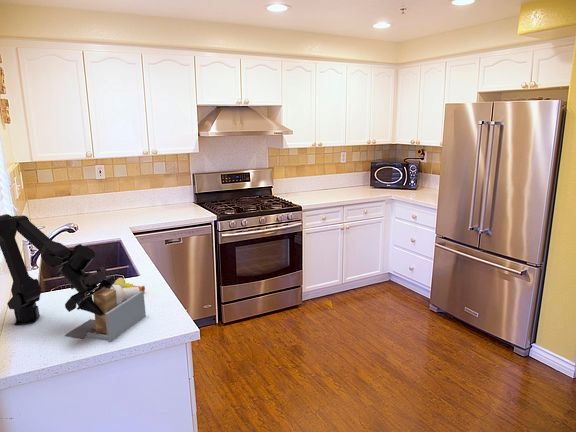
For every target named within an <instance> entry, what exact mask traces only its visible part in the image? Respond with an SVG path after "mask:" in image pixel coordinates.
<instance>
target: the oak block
mask: <svg viewBox="0 0 576 432" xmlns="http://www.w3.org/2000/svg"><path fill="white" fill-rule="evenodd" d="M92 299H93V302H94V303H95V304H96V305H97V306H98V307H99V309H100V310H101V311H102V312H103V315H102V316H99V315H97V314H94V320H95V325H96V327H91V329H94V330H95V333H97V334H104V335H107V327H106V319H105V313H107V312H109V311H110V310H112V309H113V308H115V307H116V306H118V305H117V298H116V290H114V289H109V288H102V289H100V290H98V291H96V292H95V293H93V295H92Z"/></svg>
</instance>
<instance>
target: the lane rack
mask: <svg viewBox="0 0 576 432" xmlns="http://www.w3.org/2000/svg"><path fill="white" fill-rule="evenodd" d="M144 293H145V292H144ZM144 293H143V291H140V292H138V293H137V294H135V295H134V296H132V297H130V298H129V299H127V300H123V301H122V302H121V304H120V305H117V306H116V307H115V308H113V309H112V310H110V311H109V312H107V313H105V319H106V327H107V335H104V334H97V333H96V332H92V333H91V332H88V333H86V335H87V337H86V338H88V339H94V340H99V341H100V340H101V341H102V340H103V341H108V343H112V342H113V341H115V340H117V338H118V337H119V336H121V335H123V334H124V333H126V331H127V330H129V329H130V328H132V327H133V326H135V325H136V324H137V323H138V322H140V321H141V320H143V319H144V318H145V317H146V316H147V315H146V314H147V313H146V305H145V304H146V303H145V294H144Z"/></svg>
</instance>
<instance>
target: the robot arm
mask: <svg viewBox="0 0 576 432" xmlns="http://www.w3.org/2000/svg"><path fill="white" fill-rule="evenodd" d="M17 232H18V233H19V234H20V235H21V236H22V237H23V238H24V239H25V240H27V241H28V242H29V243H30V244H31V245H32V246H34V248H36V249H37V250H38V251H39V253H40V257H41V259H42V261H44V263H45V264H46V265H47V266H49V268H56V267H58V266H61V265H62V266H61V267H58V268H57V269H56V270H57V271H56V277H57V278H59V277H61V276H62V277H64V278H65V280H66V281H67V282H68V283H69V284H70V286H69V288H70V290H75V291H76V292H77V293H74V294H73V295H71V296H70V298H68V300H67V301H66V302H65V303H64V306H65V307H64V308H65V309H66V310H67V311H68V313H69V312H72V311H74V310H75V309H76V310H77V311H79V310H81V311H86V312H89V313H92V314H94V315H95V314H97V315H99V316H102V315H103V312H102V311H101V310H100V309H99V307H98V306H97V305H96V304H95V303H94V301H93V293H95V292H96V291H98V290H100V289H102V288H109V289H110V288H111V286H112V285H113V284H114V283H115V281H116V280H117V279H116V278H115V277H113V276H112V275H110V276H107V275H109V272H108V271H107V269H106V268H105V267H104V266H101V267H99V268H97V269H96V272H95V273H93V274H92V272H89V271H88V272H86V271H85V269H86V268H88V266H89V265H90V263H92V261H93V260H94V258H95V257H96V254H95V251H94V250H93V249H92V248H90V247H88V246H84V245H82V243H79V244H76V245H75V246H74V247H73V249H69V248H68V246H65V245H64V244H63V243H60V242H58V241H54V240H52V239H50V237H48V236H47V235H46V233H44V232H43V231H41V230H40V228H38V227H37V225H35V224H34V223H32V222H31V221H30V219H29V217H28V215H22V214H21V215H10V214H8V213H5V214H2V215H0V250H1V253H2V256H3V257H4V260H5V263H6V265H7V269H8V270H9V274H10V276H11V278H12V284H11V289H10V291H11V295H12V297H11V298H10V299H9V300H8V302H7V306H8V309H9V310H13V312H14V317H15V322H14V324H13V325H14V326H17V325H18V326H20V325H27V324H34V323H36V322H37V320H38V319H39V317H40V316H41V314H40V310H39V305H37V302H39V301H40V299H41V294H42V287H41V285H40V282H39V280H38V279H37V278H35V279H34V278H33V277H31V276H30V274H29V273H28V269H27V267H26V264H25V261H24V259H23V255H22V253H21V251H20V248H19V245H18V242H17V240H16V236H17Z"/></svg>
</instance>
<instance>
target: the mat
mask: <svg viewBox="0 0 576 432" xmlns="http://www.w3.org/2000/svg"><path fill="white" fill-rule="evenodd" d="M91 327H96V325H95V319H94V318H93V319H92V318H90V319H88V320H87V321H85V322H83V323H82V324H79V326H77V327H75V328H74V329H72V330H70V331H69V332H67V333H66V334H64V337H69V338H73V339H80V340H84V339H85V338H88V337H87V335H86V333H88V332H91V333H95V332H96V330H94V329H91Z"/></svg>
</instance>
